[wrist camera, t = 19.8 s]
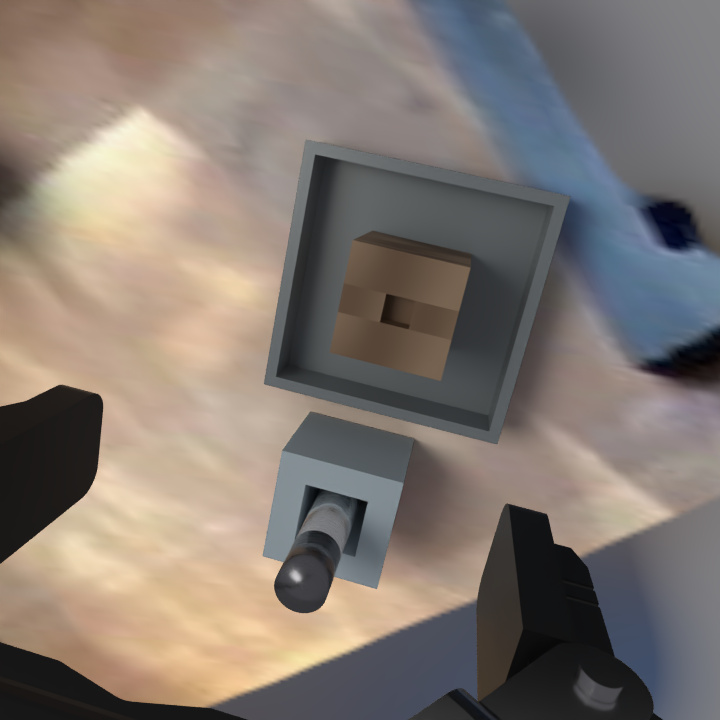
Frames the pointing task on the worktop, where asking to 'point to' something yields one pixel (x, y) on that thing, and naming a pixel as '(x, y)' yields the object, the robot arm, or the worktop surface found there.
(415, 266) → the walnut block
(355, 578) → the grey socket cube
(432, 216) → the tray
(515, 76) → the worktop surface
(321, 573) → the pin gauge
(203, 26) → the worktop surface
